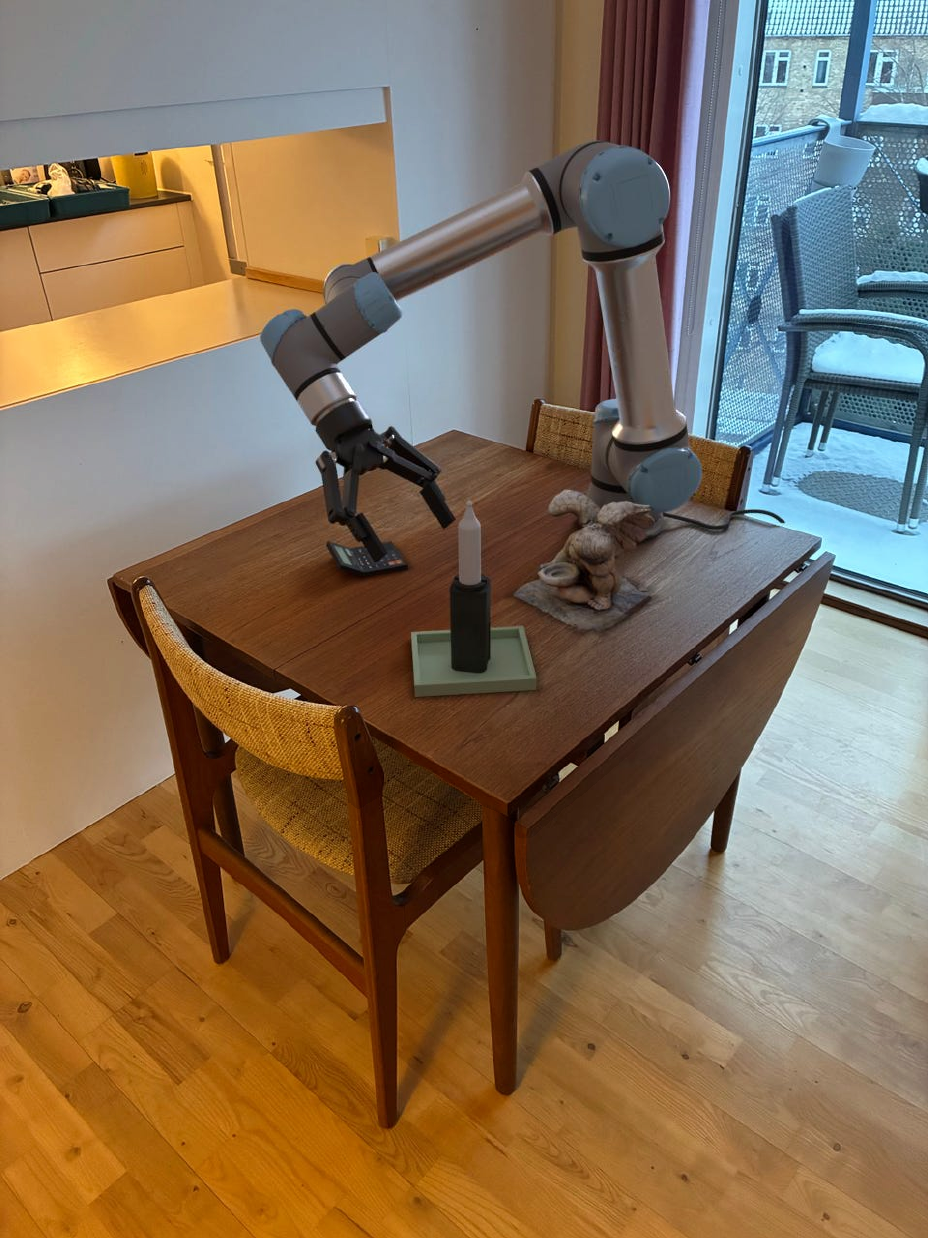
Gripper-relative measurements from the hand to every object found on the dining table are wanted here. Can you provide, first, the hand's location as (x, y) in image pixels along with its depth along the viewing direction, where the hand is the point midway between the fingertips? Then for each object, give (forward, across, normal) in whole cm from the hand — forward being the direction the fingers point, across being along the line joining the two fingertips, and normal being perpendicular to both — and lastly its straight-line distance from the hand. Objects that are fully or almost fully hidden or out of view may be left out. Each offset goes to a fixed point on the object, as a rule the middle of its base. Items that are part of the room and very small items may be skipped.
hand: (416, 540), depth 134 cm
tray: (+19, 0, -4) cm, 19 cm away
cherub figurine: (+19, -26, -4) cm, 33 cm away
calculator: (-5, -11, -29) cm, 31 cm away
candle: (+19, 0, -4) cm, 19 cm away
